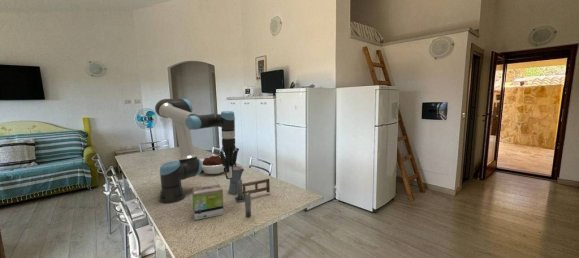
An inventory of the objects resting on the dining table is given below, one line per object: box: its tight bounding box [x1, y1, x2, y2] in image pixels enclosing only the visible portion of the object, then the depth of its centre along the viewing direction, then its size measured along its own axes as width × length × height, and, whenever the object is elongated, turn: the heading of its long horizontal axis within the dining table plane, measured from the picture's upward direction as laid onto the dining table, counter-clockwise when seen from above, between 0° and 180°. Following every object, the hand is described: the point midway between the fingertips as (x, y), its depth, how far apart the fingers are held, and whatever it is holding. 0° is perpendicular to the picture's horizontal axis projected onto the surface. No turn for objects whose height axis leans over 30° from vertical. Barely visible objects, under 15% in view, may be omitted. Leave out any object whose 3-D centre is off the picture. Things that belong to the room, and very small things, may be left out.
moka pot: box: [223, 163, 245, 195], centre depth 168 cm, size 10×15×20 cm, turn 78°
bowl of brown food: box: [201, 155, 226, 175], centre depth 213 cm, size 25×25×15 cm
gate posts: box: [234, 179, 252, 218], centre depth 145 cm, size 6×27×13 cm, turn 22°
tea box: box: [191, 184, 224, 221], centre depth 137 cm, size 15×10×15 cm
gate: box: [242, 178, 271, 198], centre depth 160 cm, size 2×18×9 cm, turn 119°
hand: (229, 177), depth 146 cm, fingers closed
